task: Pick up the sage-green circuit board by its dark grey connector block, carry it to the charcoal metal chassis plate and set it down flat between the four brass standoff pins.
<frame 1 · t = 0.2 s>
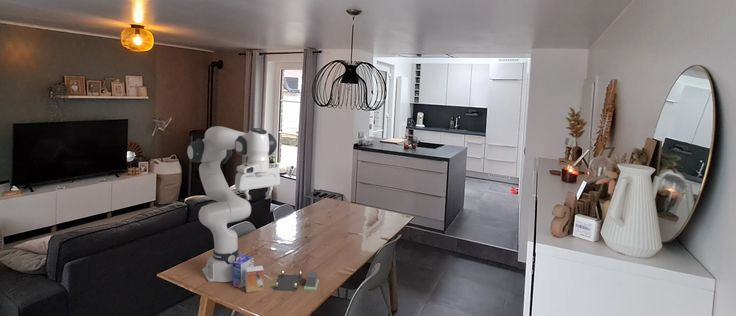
hand: (258, 197, 181), 48 cm above the table, fingers open, 8 cm apart
ink cartridge box: (243, 283, 203), on the table
circuit board: (311, 285, 204), on the table
small box: (254, 289, 198), on the table
chassis plate: (288, 283, 205), on the table
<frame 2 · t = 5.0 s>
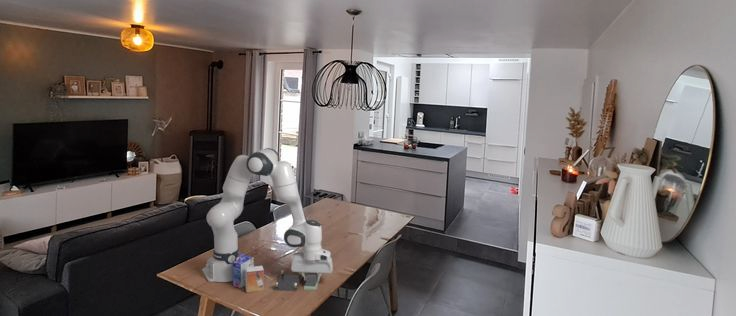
hand: (311, 280, 204), 2 cm above the table, fingers closed on circuit board, 4 cm apart
circuit board: (311, 285, 204), on the table, touching gripper
everything else where it was.
when the fingers open (5 cm above the table, at t = 13.4 s): circuit board drops 1 cm, resting on chassis plate.
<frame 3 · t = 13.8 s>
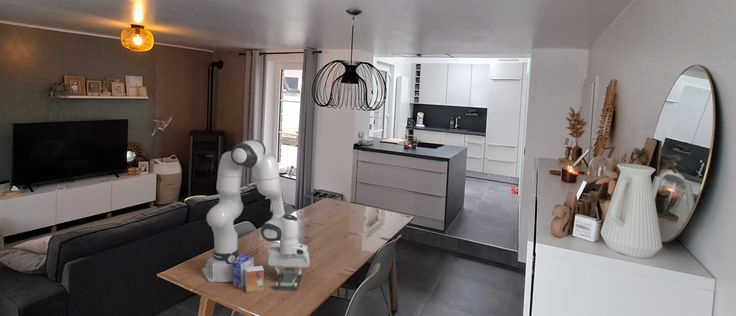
hand: (288, 274, 204), 5 cm above the table, fingers open, 8 cm apart
circuit board: (288, 281, 205), point 1 cm above the table, touching chassis plate
everything else where it was.
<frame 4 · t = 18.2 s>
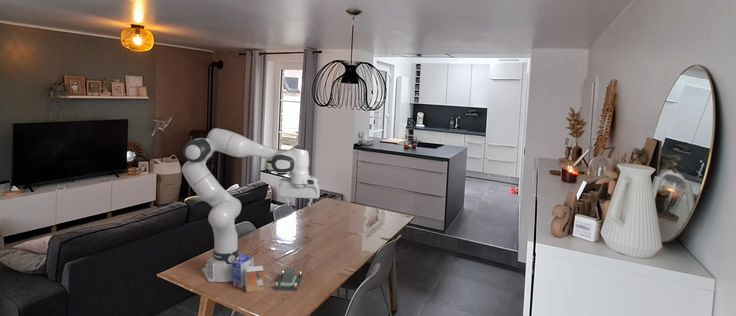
hand: (299, 206, 207), 37 cm above the table, fingers open, 8 cm apart
nothing on the table moved.
at the end: circuit board 0.1 cm off-centre on the chassis plate, point 1.0 cm above the chassis plate's base; circuit board tilted 0°; the gripper is holding nothing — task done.
